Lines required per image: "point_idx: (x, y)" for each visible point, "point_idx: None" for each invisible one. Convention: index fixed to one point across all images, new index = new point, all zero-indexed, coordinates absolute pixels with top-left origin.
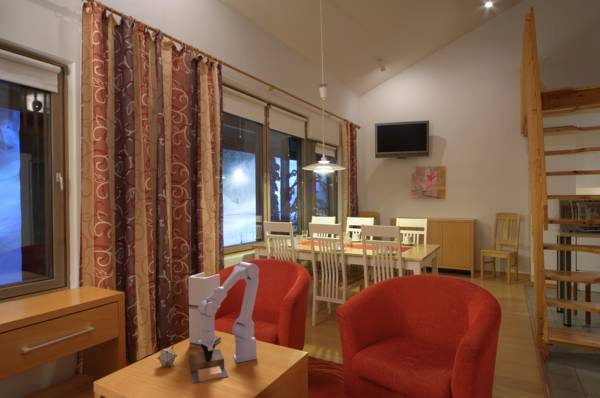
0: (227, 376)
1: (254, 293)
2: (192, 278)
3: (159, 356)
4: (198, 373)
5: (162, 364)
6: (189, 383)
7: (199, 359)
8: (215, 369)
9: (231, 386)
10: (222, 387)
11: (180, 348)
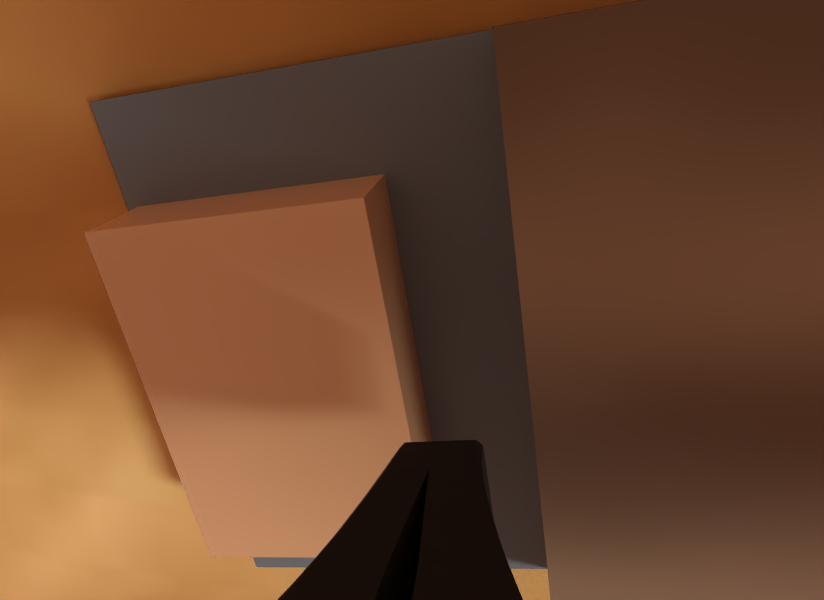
0: (255, 557)
1: None
2: None
3: None
4: (254, 207)
5: None
6: (120, 20)
7: (759, 271)
8: (326, 494)
9: (43, 550)
10: (18, 470)
11: None
